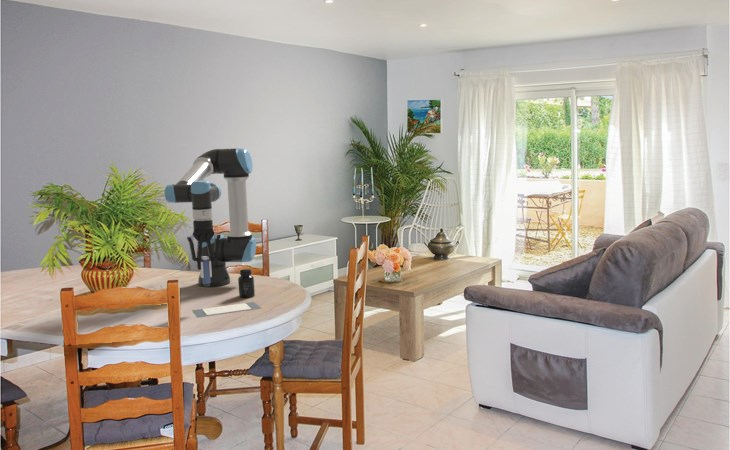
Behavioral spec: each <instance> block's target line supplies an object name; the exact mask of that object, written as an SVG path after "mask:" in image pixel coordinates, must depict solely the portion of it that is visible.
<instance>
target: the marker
mask: <svg viewBox="0 0 730 450" xmlns="http://www.w3.org/2000/svg"><path fill="white" fill-rule="evenodd" d="M201 262H203V273H204V278H202V281H203V284H204V286H203V287H208V286H210V283H211V279H210V271H209V256H203V257H201ZM208 288H209V287H208Z"/></svg>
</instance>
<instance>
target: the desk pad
mask: <svg viewBox="0 0 730 450" xmlns="http://www.w3.org/2000/svg"><path fill="white" fill-rule="evenodd" d="M245 303H246V304H247V305H248V306H249V307H250V308H251V309H249V310H242V311H235V312H228V313H221V314H214V315H206V313H205V312H204V311H203V310H202V309H203V308H198V309H191V311H192V313H193V314H194V315H195V317H196V318H197V319H198V318H205V317H210V316H211V317H212V316H217V315H218V316H219V315H227V314H233V313H234V314H235V313H239V312H247V311H253V310H255V311H256V310H259V309H262V307H261V306H260V305H258V304H257V303H256V302H255V301H249V302H245ZM235 304H236V303H235ZM235 304H233V305H235ZM240 304H242V303H240ZM226 306H228V305H226ZM218 307H221V306H218ZM211 308H213V306H212V307H211ZM204 309H206V307H205V308H204Z"/></svg>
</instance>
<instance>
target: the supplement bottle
mask: <svg viewBox="0 0 730 450" xmlns="http://www.w3.org/2000/svg"><path fill="white" fill-rule="evenodd" d="M239 275H240V276H239V277H238V278H237V279H238V280H237V281H238V284H237V285H238V294H239V295H238V297H239V298H241V299H250V298H254V297H255V296H256V292H255V291H256V289H255V279H254V278H255V276H253V275H252V270H251V269H247V268H246V269H241V270H239Z"/></svg>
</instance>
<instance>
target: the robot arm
mask: <svg viewBox="0 0 730 450" xmlns="http://www.w3.org/2000/svg"><path fill="white" fill-rule="evenodd" d="M252 171H253V161H252V156H251V153H250V152H249V151H248V149H246V148H238V147H236V148H214V149H210V150H207V151H206V152H203V153H202V154H201V155H199V156H198V157H197V158H195V160H194V161H193V163H192V166H191V167H190V168H189V170H188V171H186V173H185V174H184V175H183V176H182V177H181V178H180V179H179V180H178V182H176V184H173V183H172V184H167V185H166V186H165V187H164V199H165V201H166V202H168V203H175V204H177V203H178V204H179V203H182V204H183V203H191V204H192V205H191V208H192V219H193V221H192V224H193V232H192V234H191V235H190V236H186V240H187V241H188V244H189V249H190V256H191V260H192V261H194V262H196V266H197V270H198V271H199V275H198V280H197V282H198V283H197V284H198V286H200V287H204V284H203V281H202V278H204V273H203V262H201V257H203V256H209V271H210V279H211V283H210V286H208V288H209V287H212V288H213V287H221V286H225V285H228V284H230V283H231V276H230V275H229V271H228V269H227V264H226V263H249V262H251V261H253V260H254V258H255V255H256V251H257V239H256V237H253V233H252V232H251V231H250V230H249V219H248V218H249V215H248V201H247V199H248V195H247V180H248V179H249V177H250V176H249V175H250V174H251V173H252ZM215 174H216V175H223V179H224V180H226V182H227V197H228V199H227V200H228V214H229V215H228V216H229V218H228V219H229V232H228V233H227V234H226V235H227V237H225V235H224V234H219V233H216V232H215V231H214V225H213V223H214V222H213V219H212V218H213V210H212V207H213V206H212V203H215V202H217V201H218V200H219V199H220V198H221V195H222V189H221V186H219V185H218V184H217V183H211V181H209V180H205V179H206V178H208V177H210V176H211V175H215ZM194 239H195V240H196V241H197V248H196V249H197V250H196V251H197V252H196V251H195V244H194Z"/></svg>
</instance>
